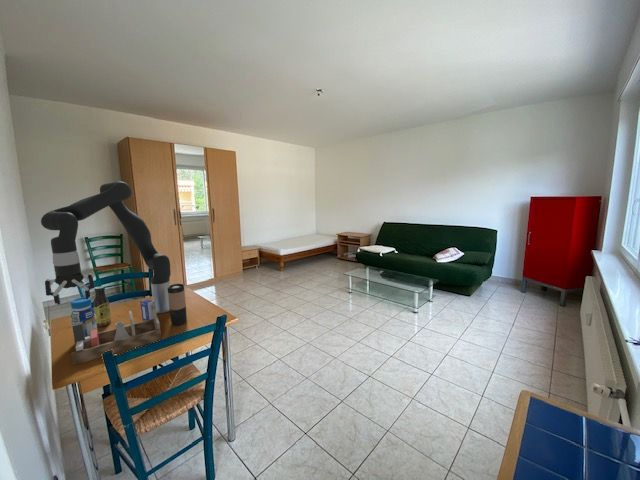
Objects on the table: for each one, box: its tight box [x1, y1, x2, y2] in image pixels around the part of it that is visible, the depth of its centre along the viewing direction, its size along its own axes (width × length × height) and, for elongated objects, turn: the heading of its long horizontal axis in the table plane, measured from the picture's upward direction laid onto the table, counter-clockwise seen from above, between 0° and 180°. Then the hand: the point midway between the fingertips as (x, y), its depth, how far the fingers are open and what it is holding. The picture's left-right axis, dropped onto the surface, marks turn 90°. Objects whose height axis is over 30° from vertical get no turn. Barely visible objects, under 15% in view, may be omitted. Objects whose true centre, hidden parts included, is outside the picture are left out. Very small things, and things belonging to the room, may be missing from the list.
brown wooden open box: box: [70, 310, 163, 366], centre depth 119 cm, size 30×14×12 cm, turn 128°
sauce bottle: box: [92, 285, 112, 327], centre depth 137 cm, size 6×6×20 cm
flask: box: [113, 321, 131, 341], centre depth 120 cm, size 7×7×10 cm
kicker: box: [71, 321, 101, 352], centre depth 112 cm, size 7×14×14 cm, turn 39°
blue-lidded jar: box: [70, 296, 98, 336], centre depth 121 cm, size 8×8×20 cm
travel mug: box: [167, 283, 188, 327], centre depth 139 cm, size 8×8×20 cm
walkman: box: [139, 298, 158, 322], centre depth 140 cm, size 8×3×12 cm, turn 67°
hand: (73, 301), depth 108 cm, fingers open, 8 cm apart
